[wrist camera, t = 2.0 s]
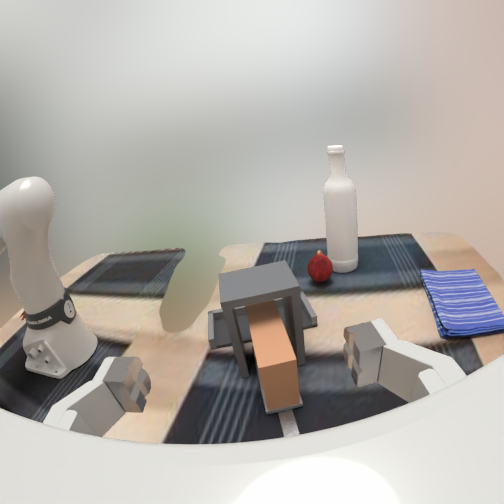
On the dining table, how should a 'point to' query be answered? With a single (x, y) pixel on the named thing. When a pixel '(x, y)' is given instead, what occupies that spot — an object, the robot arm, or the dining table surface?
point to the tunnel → (260, 290)
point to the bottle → (340, 214)
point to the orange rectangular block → (273, 358)
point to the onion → (320, 267)
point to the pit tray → (220, 333)
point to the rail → (288, 423)
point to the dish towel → (461, 304)
